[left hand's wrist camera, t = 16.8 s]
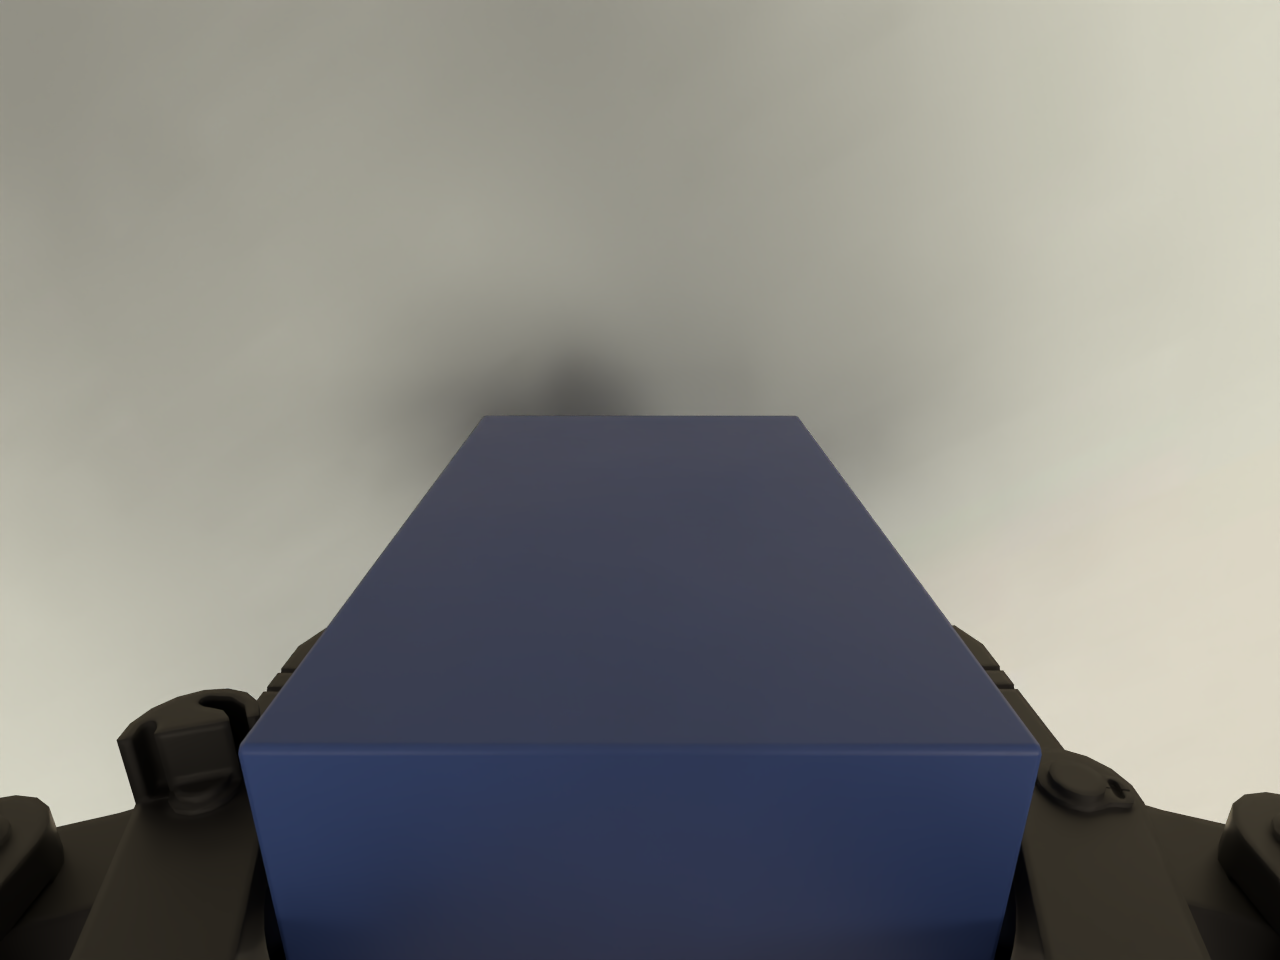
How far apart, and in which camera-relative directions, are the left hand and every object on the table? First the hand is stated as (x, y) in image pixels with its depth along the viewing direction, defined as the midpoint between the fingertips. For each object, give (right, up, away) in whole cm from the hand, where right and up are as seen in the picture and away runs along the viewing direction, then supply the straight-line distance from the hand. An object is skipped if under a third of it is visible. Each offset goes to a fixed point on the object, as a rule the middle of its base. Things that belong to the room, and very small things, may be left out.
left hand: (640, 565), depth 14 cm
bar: (0, -10, +4) cm, 11 cm away
